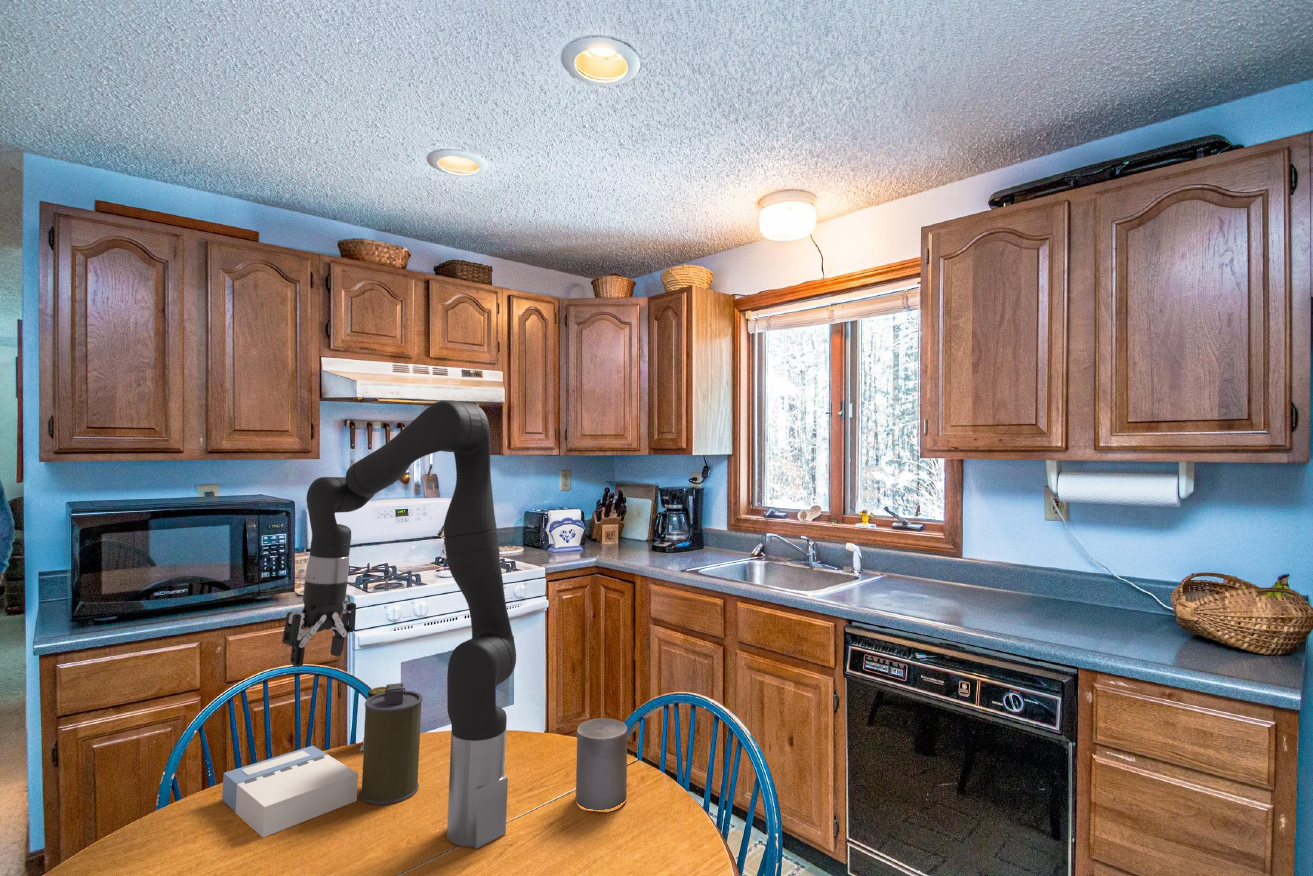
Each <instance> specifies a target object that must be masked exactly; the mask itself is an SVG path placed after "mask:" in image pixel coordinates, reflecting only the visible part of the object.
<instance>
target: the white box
mask: <svg viewBox="0 0 1313 876" xmlns="http://www.w3.org/2000/svg"><path fill="white" fill-rule="evenodd" d="M358 782H359V773H358V772H357V771H355V770H354V769H351V768H350V767H348V766H347V765H346V764H343V763H342V762H340V761H338V760H337V759H336V758H334V757H332V756H330V755H329V754H327V755H325V756H322V757H319V758H316V759H312V760H309V761H306V762H303V763H300V764H297V765H294V766H291V767H288V768H285V769H282V770H278V771H275V772H272V773H269V774H266V775H263V776H260V777H257V778H254V779H251V780H248V781H244V782H241V783H238V784H237V790H236V807H235V814H236V815H237V816H238V817H240V819H241V820H243V821H244V822H245V823H246V824H247V825H248V826H250V828H251V829H253V830H254V831H255V832H256V833H257V834H258V835H259V836H260V837H261V838H266V837H268V836H271V835H273V834H276V833H279V832H281V831H283V830H287V829H288V828H291V827H293V826H296V825H299V824H302V823H304V822H306V821H309V820H311V819H314V818H317V817H319V816H322V815H324V814H327V813H330V812H333V811H335V810H336V809H339V808H343V807H344V806H347V805H350V804H353V803H355V802H357V801H358V786H359V785H358Z"/></svg>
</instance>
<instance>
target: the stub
mask: <svg viewBox="0 0 1313 876" xmlns="http://www.w3.org/2000/svg"><path fill="white" fill-rule="evenodd" d="M325 755H328V754H327V753H326V752H324V751H322V750H321V749H319V748H317V747H316V746H314V745H310V746H307V747H304V748H300V749H296V750H294V751H291V752H287V753H284V754H281V755H278V756H274V757H270V758H268V759H265V760H261V761H259V762H256V763H251V764H249V765H245V766H242V767H239V768H235V769H232V770H229V771H226V772H223V779H222V792H221V793H222V796H221V800H222V801H223V802H224V803H225V804H226V805H227V806H228V807H230V809H232V810H233V811H235V807H236V790H237V784H238V783H241V782H244V781H248V780H251V779H254V778H257V777H260V776H263V775H266V774H269V773H272V772H275V771H278V770H282V769H285V768H288V767H291V766H294V765H297V764H300V763H303V762H306V761H309V760H312V759H316V758H319V757H322V756H325Z"/></svg>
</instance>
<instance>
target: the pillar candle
mask: <svg viewBox="0 0 1313 876" xmlns="http://www.w3.org/2000/svg"><path fill="white" fill-rule="evenodd" d="M576 731H577V733H576V770H575V771H576V775H575V777H576V779H575V802H576V801H577V803H578V804H579V805H580V806H582V807H584V808H586V809H593V810H605V809H611V808H614V807H616V806H618V805H620V804H621V803H623V802H624V801H625V800H626V801H627V799H626V797H627V794H628V791H627V788H628V782H627V781H628V726H627V725H626V724H625V723H624V722H623V721H621V720H619V719H613V718H605V717H604V718H600V717H599V718H592V719H588V720H585V721H583V722H581V723H580V724H579V725H578V726H577V730H576Z"/></svg>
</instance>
